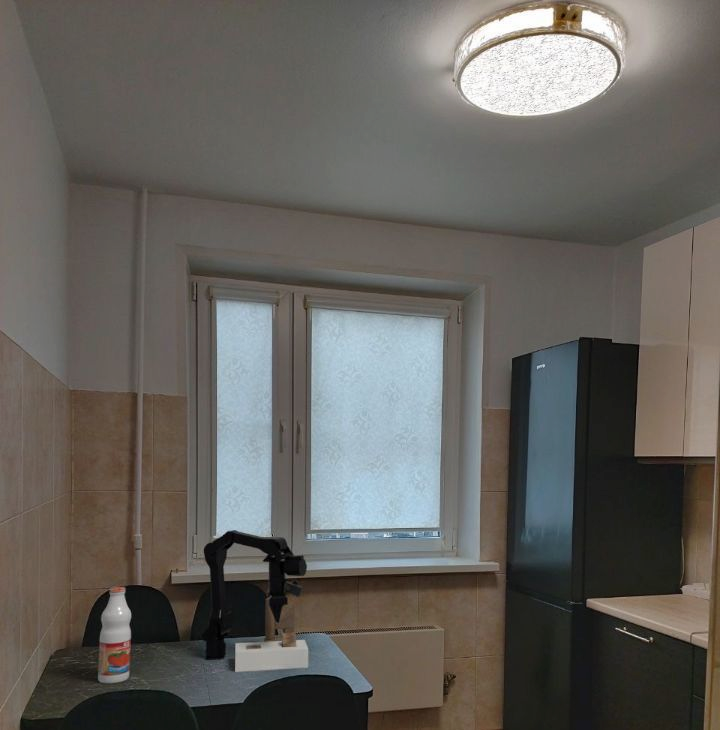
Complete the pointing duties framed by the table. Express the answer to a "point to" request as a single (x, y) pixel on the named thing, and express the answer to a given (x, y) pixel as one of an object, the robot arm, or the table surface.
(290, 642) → the right peg
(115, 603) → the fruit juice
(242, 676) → the table surface
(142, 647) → the table surface
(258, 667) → the white peg base
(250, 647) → the left peg
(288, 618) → the wooden block
